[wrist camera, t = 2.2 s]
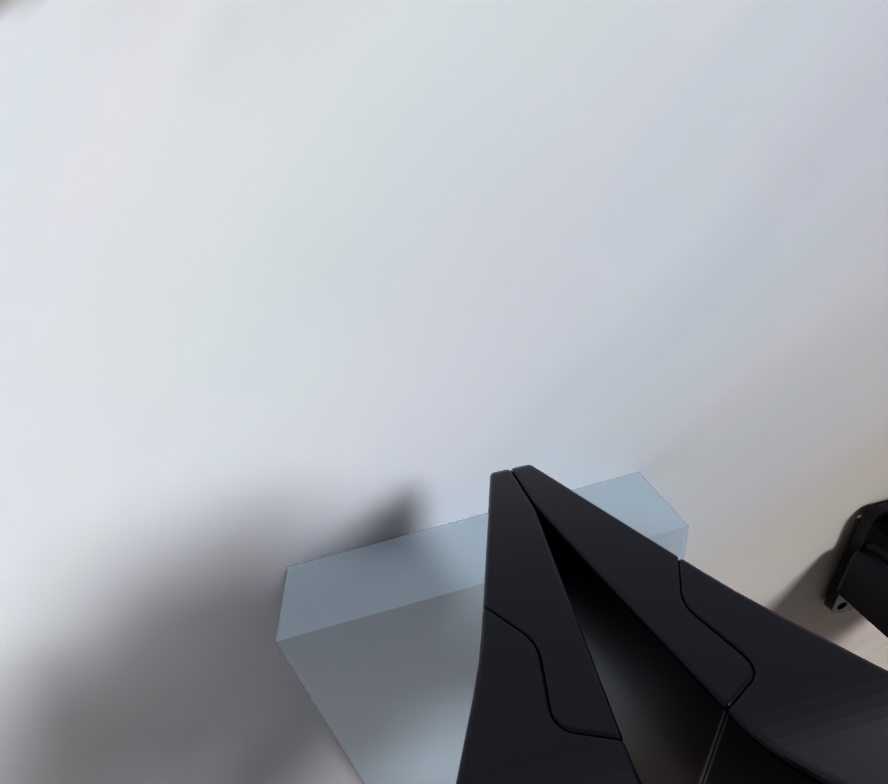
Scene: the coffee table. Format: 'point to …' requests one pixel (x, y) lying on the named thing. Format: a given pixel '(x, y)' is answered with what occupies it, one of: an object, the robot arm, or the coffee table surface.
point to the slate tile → (416, 634)
